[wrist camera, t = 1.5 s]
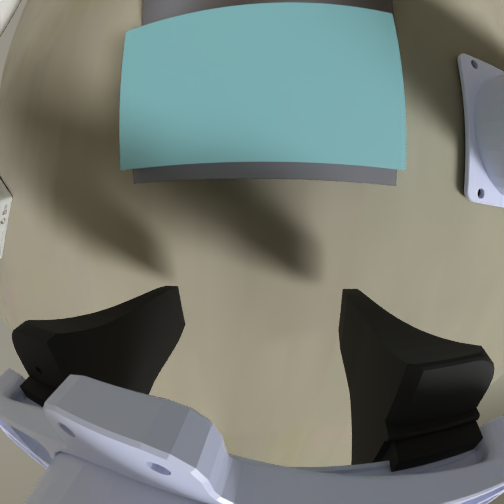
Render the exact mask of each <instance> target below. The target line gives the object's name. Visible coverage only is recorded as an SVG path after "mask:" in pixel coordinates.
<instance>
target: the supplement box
mask: <svg viewBox="0 0 504 504" xmlns="http://www.w3.org/2000/svg"><path fill="white" fill-rule="evenodd" d="M11 204H12V195H11V194H10V193H9V191H8V190H7V188H6V187H5V185H4V184H3V182H2V181H1V179H0V258H2V255H3V249H4V242H5V236H6V230H7V224H8V219H9V213H10V208H11Z"/></svg>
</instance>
